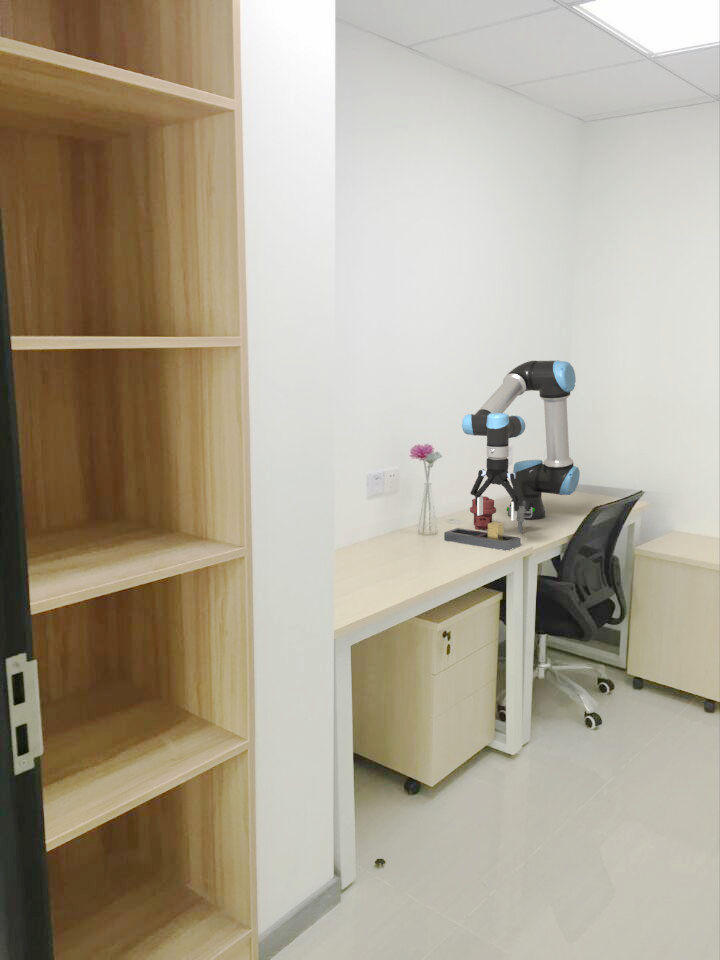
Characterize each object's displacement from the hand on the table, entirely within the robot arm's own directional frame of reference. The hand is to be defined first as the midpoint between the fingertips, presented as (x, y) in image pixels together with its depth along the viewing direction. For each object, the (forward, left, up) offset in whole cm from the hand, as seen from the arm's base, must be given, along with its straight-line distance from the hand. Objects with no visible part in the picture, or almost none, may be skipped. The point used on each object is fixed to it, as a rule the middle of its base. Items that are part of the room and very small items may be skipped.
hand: (496, 517), depth 295 cm
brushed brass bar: (+1, 0, -10) cm, 10 cm away
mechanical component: (-23, -3, -10) cm, 25 cm away
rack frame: (0, -6, -10) cm, 11 cm away
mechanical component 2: (-21, -18, -10) cm, 29 cm away
